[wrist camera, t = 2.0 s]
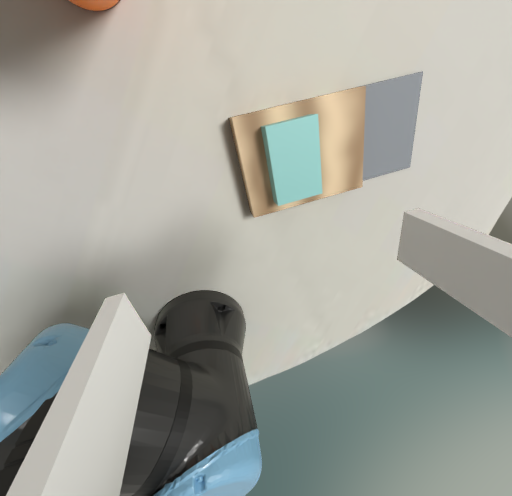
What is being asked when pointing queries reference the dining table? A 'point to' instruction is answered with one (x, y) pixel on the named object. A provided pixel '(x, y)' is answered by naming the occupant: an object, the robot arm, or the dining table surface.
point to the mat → (390, 124)
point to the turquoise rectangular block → (293, 158)
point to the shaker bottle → (95, 4)
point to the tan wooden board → (331, 146)
